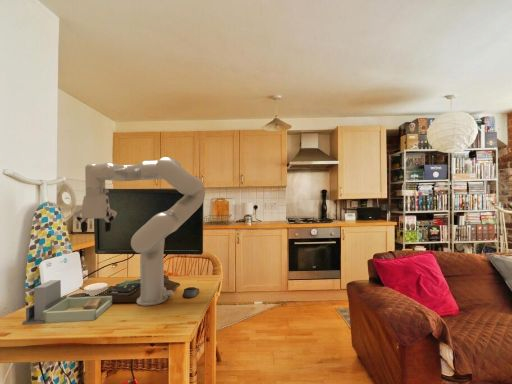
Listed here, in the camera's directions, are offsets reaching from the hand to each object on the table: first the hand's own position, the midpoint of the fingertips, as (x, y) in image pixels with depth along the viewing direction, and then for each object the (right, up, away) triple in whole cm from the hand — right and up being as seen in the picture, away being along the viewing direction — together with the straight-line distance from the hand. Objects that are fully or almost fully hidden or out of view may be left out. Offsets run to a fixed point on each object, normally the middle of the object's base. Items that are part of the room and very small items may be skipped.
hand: (96, 231), depth 120 cm
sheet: (-11, -30, -13) cm, 35 cm away
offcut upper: (+5, -29, -11) cm, 31 cm away
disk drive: (+7, -31, +14) cm, 35 cm away
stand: (-11, -30, -13) cm, 35 cm away
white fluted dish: (-6, -31, +11) cm, 34 cm away
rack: (+1, -30, -12) cm, 32 cm away
